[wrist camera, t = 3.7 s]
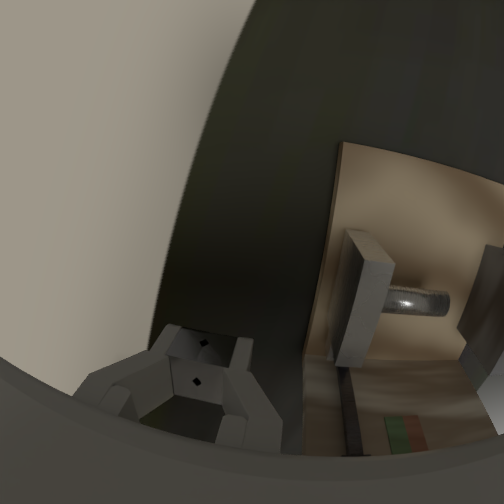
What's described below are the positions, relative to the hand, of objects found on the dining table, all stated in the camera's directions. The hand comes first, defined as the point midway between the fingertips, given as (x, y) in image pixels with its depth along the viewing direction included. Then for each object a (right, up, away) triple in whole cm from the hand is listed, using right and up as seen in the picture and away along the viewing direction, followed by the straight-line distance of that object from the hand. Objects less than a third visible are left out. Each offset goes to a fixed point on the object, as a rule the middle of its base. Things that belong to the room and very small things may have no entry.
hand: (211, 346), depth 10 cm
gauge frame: (+13, +2, +9) cm, 16 cm away
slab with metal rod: (+10, 0, +8) cm, 13 cm away
